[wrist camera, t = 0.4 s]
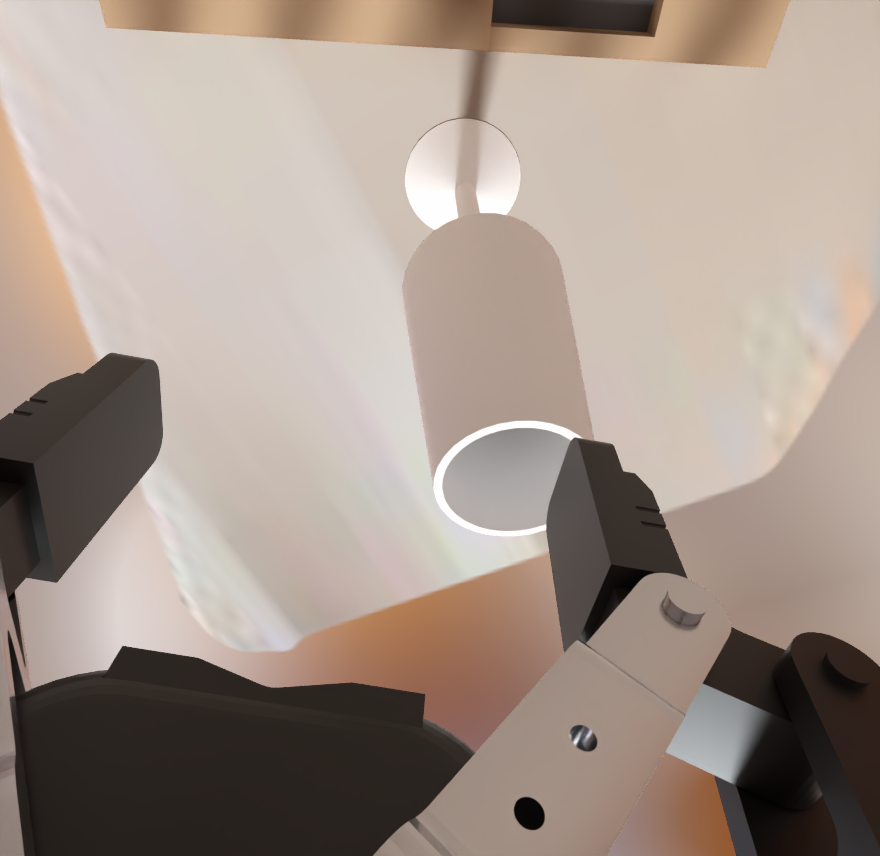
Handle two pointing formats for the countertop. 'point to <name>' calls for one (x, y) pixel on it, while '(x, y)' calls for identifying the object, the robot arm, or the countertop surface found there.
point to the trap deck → (488, 25)
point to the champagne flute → (488, 336)
